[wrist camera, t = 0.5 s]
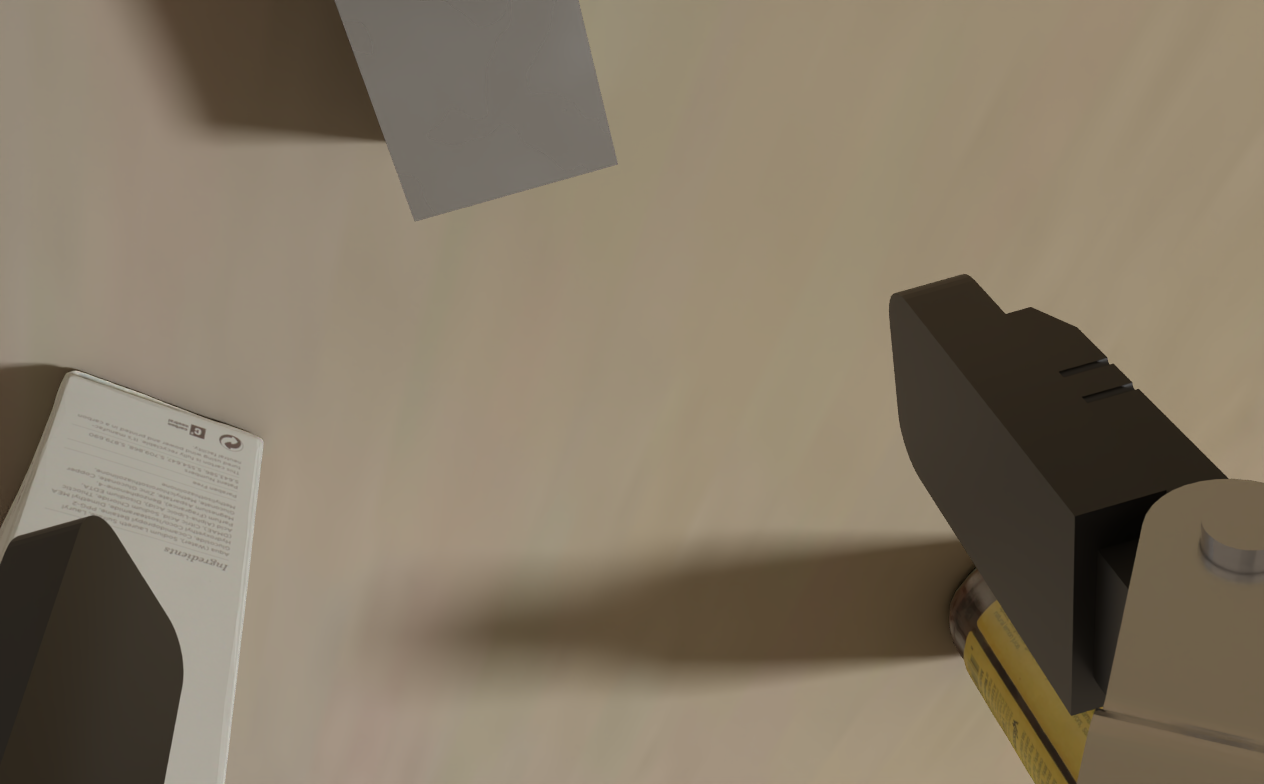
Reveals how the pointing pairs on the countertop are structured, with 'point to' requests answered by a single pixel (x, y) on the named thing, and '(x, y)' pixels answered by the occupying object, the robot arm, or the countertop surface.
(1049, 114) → the countertop surface
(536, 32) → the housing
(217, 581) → the skincare box
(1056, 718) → the sauce bottle
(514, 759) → the countertop surface
